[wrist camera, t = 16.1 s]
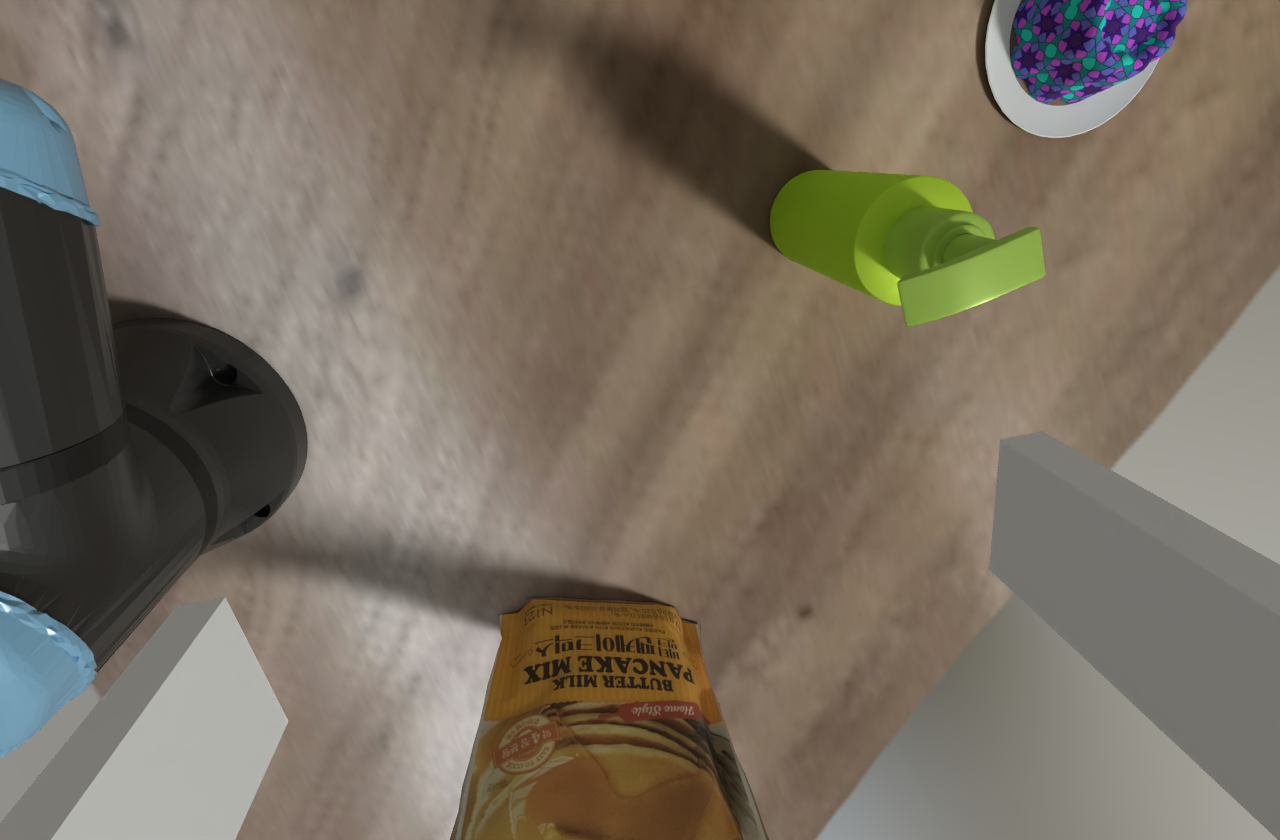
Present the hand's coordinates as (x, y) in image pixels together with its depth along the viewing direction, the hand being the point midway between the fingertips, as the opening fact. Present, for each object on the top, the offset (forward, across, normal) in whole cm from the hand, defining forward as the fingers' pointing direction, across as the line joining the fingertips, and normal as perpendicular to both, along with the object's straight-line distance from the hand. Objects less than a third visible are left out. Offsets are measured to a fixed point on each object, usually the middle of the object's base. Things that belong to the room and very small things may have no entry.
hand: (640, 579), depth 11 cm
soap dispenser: (+33, +16, 0) cm, 36 cm away
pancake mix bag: (+33, -3, -29) cm, 44 cm away
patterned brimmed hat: (+33, +33, +9) cm, 47 cm away
